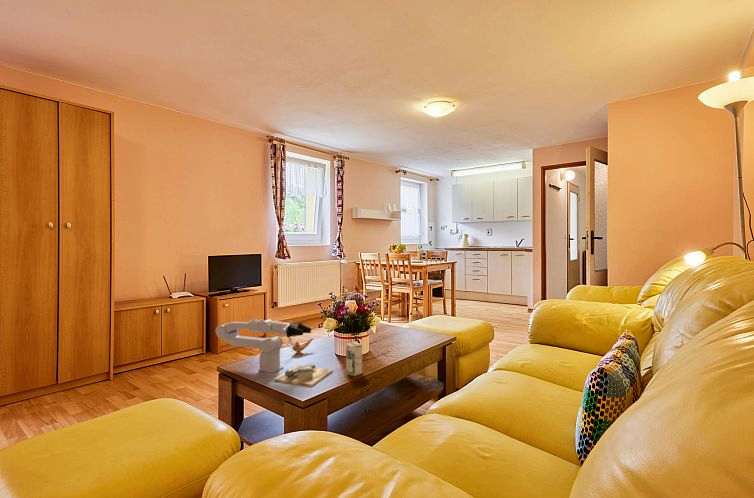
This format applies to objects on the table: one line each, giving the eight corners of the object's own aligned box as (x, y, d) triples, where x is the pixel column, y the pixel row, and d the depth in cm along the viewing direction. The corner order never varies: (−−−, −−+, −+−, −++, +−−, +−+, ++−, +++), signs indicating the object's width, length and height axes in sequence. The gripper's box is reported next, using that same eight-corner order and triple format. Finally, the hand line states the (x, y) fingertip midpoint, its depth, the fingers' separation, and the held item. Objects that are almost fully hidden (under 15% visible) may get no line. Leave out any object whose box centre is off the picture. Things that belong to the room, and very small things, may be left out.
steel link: (288, 377, 169) (288, 372, 169) (283, 375, 172) (283, 370, 172) (315, 368, 181) (315, 363, 181) (310, 366, 184) (310, 361, 184)
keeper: (298, 379, 169) (298, 370, 169) (297, 376, 173) (297, 368, 173) (312, 377, 172) (312, 369, 172) (311, 374, 175) (311, 366, 175)
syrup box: (345, 373, 179) (345, 343, 179) (354, 370, 183) (354, 341, 183) (353, 376, 175) (353, 346, 175) (362, 373, 179) (362, 343, 179)
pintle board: (273, 381, 170) (273, 376, 170) (297, 367, 189) (297, 363, 189) (311, 386, 163) (311, 382, 163) (332, 371, 182) (332, 367, 182)
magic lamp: (317, 351, 217) (317, 332, 217) (291, 358, 204) (290, 338, 203) (310, 349, 221) (310, 330, 221) (284, 355, 208) (283, 336, 208)
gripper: (274, 321, 177) (299, 325, 173) (291, 318, 191) (314, 321, 186) (273, 336, 177) (298, 340, 172) (289, 332, 190) (313, 335, 186)
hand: (306, 331), depth 179 cm, fingers open, 7 cm apart
